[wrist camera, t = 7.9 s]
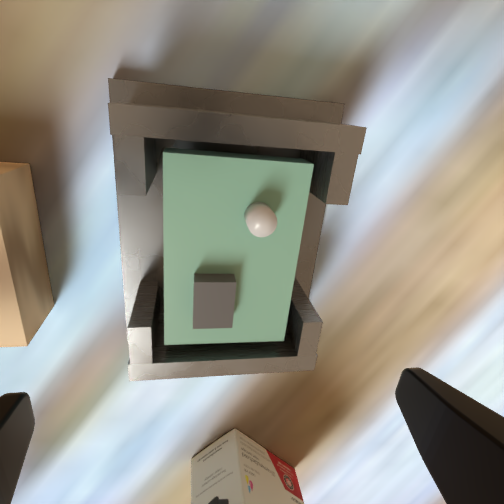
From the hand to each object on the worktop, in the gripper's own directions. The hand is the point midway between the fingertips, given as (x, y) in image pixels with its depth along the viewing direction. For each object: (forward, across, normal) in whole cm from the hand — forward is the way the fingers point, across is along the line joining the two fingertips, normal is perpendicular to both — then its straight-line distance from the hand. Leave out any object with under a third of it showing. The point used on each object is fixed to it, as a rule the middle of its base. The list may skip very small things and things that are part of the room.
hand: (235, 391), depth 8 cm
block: (+12, +10, +1) cm, 16 cm away
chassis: (+12, -1, 0) cm, 12 cm away
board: (+9, -1, 0) cm, 9 cm away
